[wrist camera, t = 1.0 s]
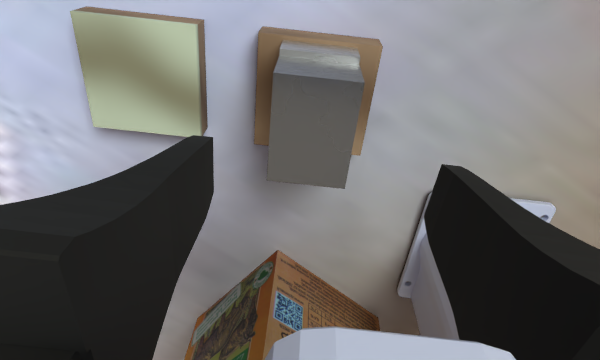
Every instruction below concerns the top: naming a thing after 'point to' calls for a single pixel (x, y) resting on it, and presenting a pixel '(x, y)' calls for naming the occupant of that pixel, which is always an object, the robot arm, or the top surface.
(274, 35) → the stand
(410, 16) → the top surface
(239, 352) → the orange food box
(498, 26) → the top surface
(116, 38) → the stand
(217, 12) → the top surface
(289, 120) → the block
